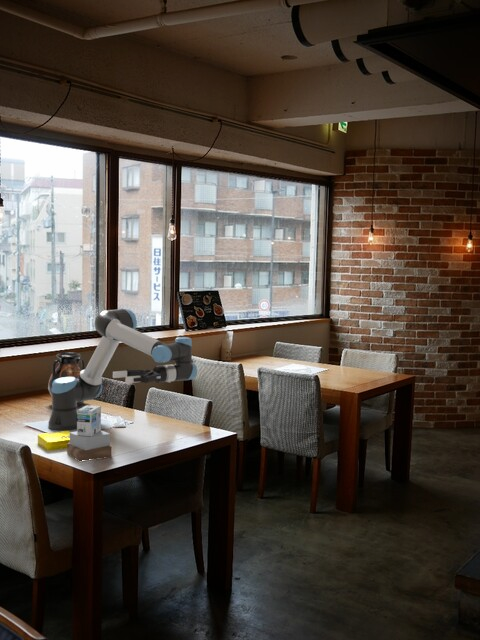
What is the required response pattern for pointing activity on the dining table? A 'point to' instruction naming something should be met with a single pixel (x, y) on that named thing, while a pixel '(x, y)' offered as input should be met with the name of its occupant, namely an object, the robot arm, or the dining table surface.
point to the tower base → (89, 452)
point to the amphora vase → (66, 368)
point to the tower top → (90, 440)
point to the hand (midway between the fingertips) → (119, 377)
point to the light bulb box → (88, 420)
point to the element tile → (54, 440)
